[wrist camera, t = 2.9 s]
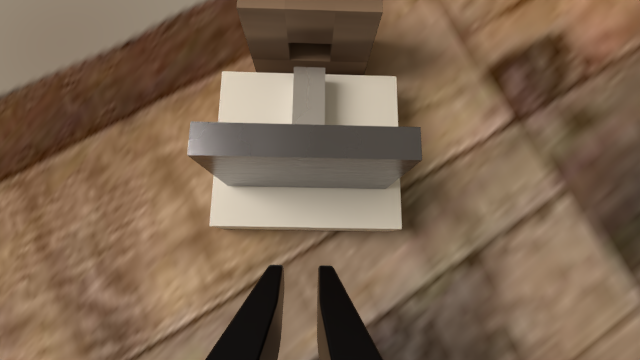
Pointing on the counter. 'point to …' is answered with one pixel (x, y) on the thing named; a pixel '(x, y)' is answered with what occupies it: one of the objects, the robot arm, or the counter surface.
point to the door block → (302, 202)
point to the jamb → (310, 34)
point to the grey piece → (305, 147)
